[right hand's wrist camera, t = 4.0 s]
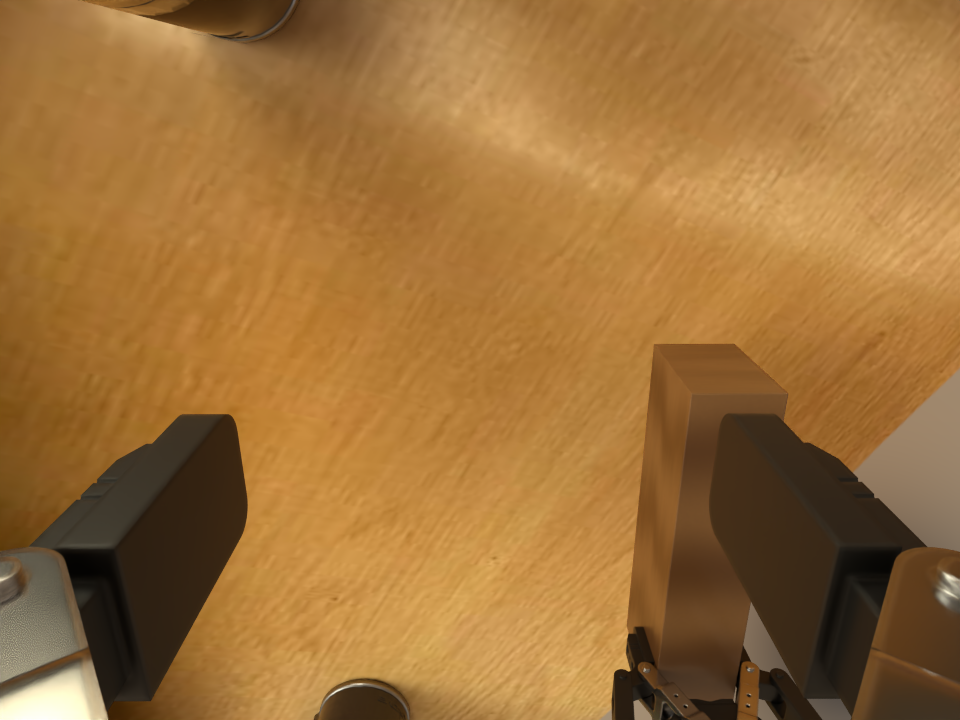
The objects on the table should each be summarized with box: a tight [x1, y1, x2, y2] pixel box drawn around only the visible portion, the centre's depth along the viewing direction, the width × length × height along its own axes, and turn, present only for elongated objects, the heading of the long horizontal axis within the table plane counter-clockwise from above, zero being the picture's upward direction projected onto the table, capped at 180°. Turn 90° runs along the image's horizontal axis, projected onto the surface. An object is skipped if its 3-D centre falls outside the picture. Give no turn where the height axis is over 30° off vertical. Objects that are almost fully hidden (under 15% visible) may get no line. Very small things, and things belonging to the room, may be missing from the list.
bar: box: [627, 344, 788, 701], centre depth 47 cm, size 25×6×9 cm, turn 0°
